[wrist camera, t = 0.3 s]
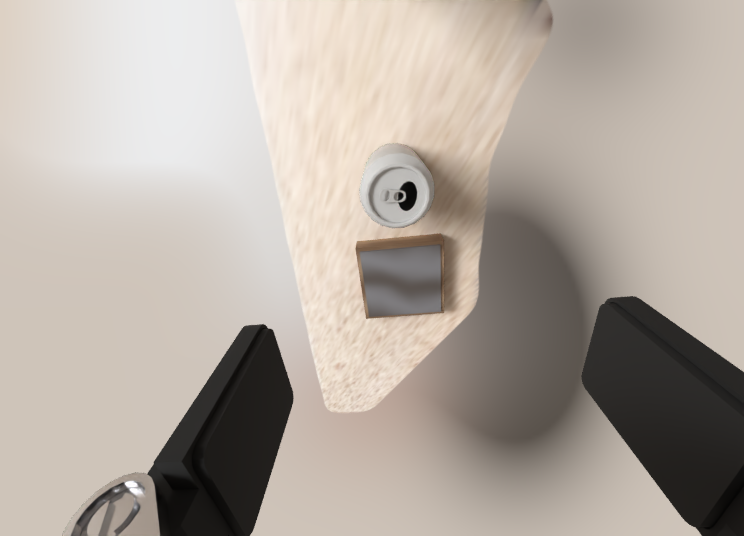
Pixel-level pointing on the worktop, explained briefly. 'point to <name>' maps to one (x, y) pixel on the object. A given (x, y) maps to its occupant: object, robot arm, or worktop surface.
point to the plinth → (402, 275)
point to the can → (396, 186)
